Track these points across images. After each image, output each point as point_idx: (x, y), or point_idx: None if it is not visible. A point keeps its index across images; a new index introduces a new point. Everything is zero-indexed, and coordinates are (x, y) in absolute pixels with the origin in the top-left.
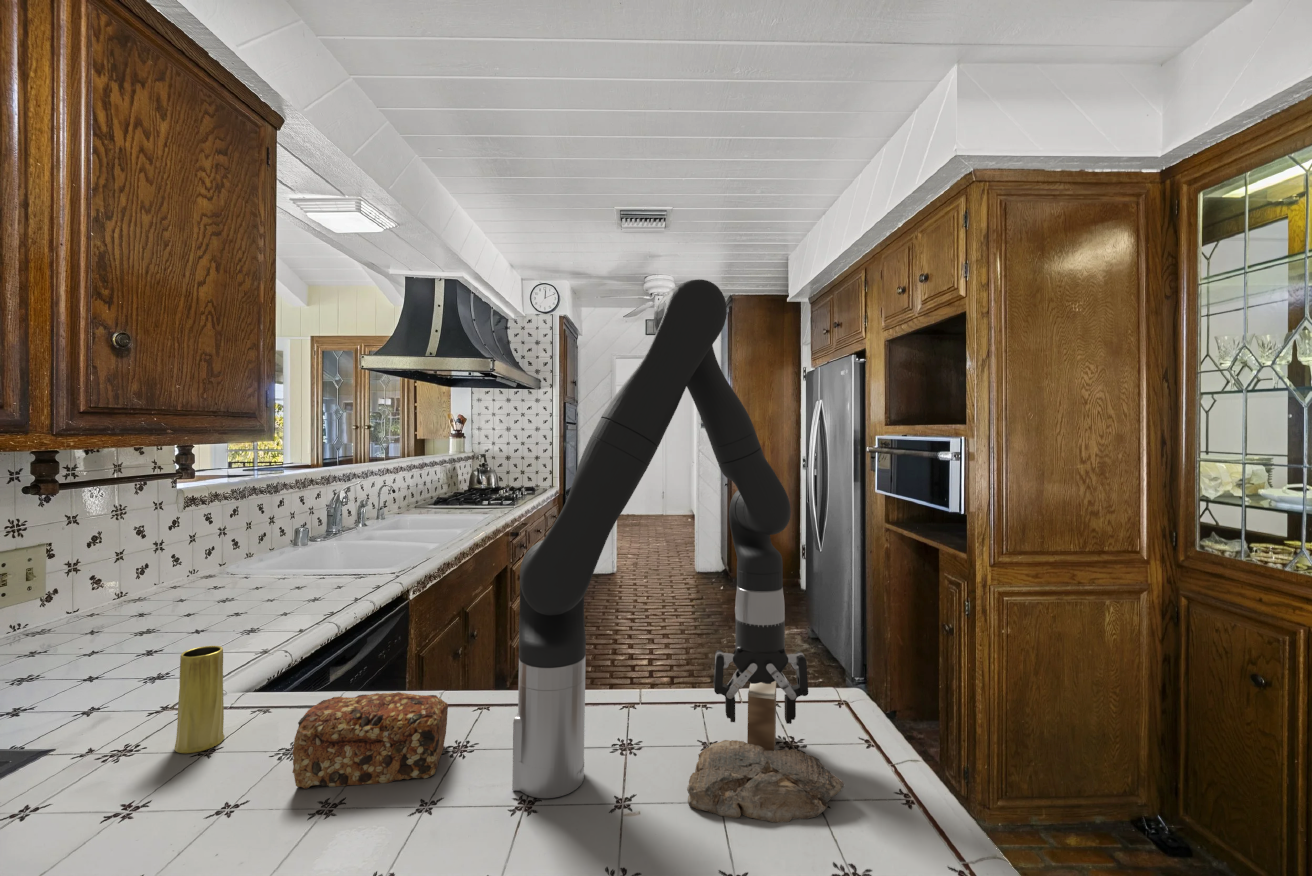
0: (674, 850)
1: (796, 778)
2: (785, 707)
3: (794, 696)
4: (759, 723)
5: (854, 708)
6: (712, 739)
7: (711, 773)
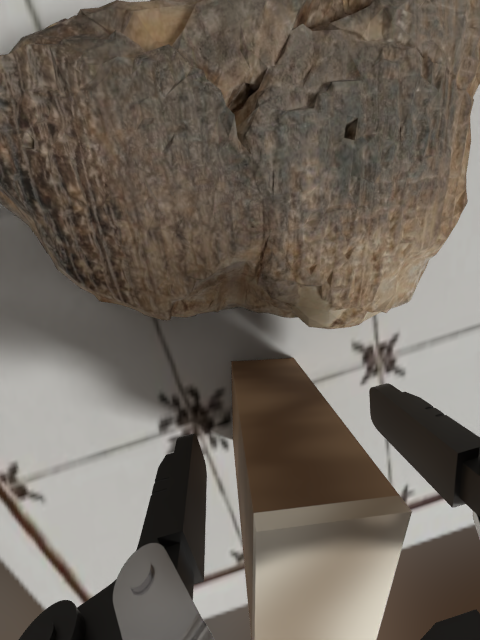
0: None
1: (114, 41)
2: (199, 500)
3: (130, 574)
4: (289, 407)
5: (73, 599)
6: (371, 386)
7: (449, 37)
